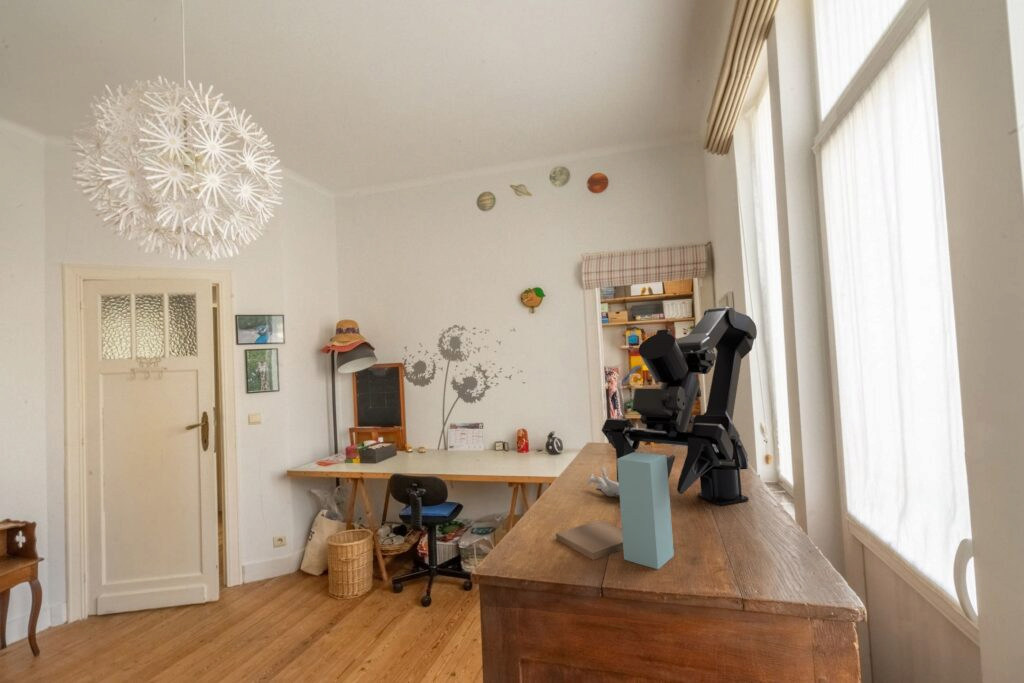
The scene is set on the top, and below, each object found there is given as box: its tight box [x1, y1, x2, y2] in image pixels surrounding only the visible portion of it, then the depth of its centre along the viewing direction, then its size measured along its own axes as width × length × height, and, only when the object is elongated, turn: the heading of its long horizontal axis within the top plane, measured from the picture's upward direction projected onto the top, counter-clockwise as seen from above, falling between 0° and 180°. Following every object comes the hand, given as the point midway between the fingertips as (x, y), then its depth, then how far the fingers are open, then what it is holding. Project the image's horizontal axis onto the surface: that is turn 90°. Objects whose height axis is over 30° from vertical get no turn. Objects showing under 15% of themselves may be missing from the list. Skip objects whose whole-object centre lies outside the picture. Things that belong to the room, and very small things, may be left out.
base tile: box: [555, 519, 623, 561], centre depth 69 cm, size 9×9×2 cm
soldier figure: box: [587, 466, 620, 497], centre depth 90 cm, size 8×5×12 cm
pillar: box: [616, 451, 675, 570], centre depth 63 cm, size 5×5×14 cm
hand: (647, 487), depth 64 cm, fingers open, 9 cm apart
